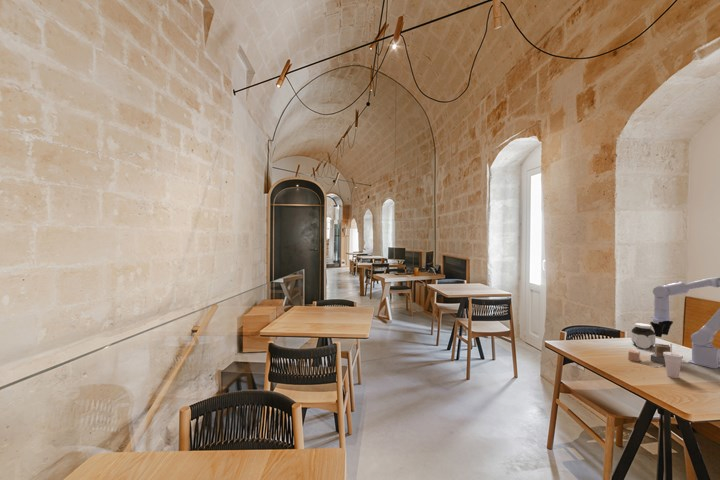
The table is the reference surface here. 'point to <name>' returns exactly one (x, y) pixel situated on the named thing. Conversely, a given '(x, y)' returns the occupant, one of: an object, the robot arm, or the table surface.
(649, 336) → the spread jar
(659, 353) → the walnut cube
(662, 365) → the swatch
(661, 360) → the plinth
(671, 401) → the table surface
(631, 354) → the terracotta cube
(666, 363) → the smoothie
